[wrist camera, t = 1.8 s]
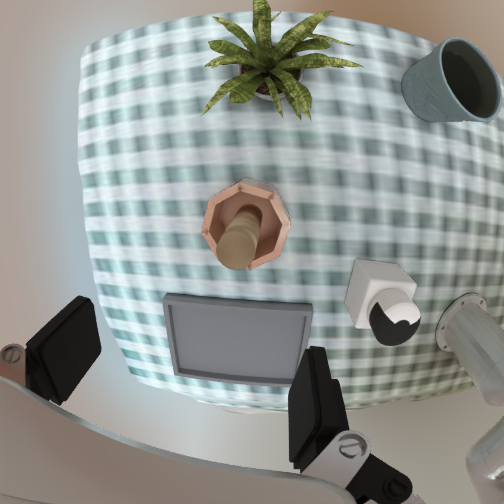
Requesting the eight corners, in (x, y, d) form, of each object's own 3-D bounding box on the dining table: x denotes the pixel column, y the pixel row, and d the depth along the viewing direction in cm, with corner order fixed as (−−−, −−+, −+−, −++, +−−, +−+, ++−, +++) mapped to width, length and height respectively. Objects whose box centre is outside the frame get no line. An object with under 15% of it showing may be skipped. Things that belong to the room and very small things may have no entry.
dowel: (267, 221, 35) (262, 259, 23) (245, 232, 36) (228, 275, 23) (254, 199, 34) (242, 225, 22) (232, 211, 35) (208, 243, 22)
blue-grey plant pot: (408, 129, 30) (458, 124, 19) (385, 62, 27) (425, 33, 16) (459, 122, 28) (511, 120, 17) (438, 60, 25) (484, 40, 14)
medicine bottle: (384, 305, 39) (413, 352, 28) (343, 301, 39) (363, 353, 28) (397, 263, 37) (435, 303, 25) (354, 257, 37) (383, 299, 26)
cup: (297, 228, 36) (301, 245, 30) (237, 258, 38) (230, 279, 32) (264, 167, 34) (262, 170, 27) (204, 201, 36) (188, 211, 29)
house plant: (287, 165, 34) (298, 172, 18) (195, 113, 32) (137, 86, 17) (344, 79, 29) (390, 32, 14) (252, 30, 27) (237, -40, 12)
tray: (311, 303, 40) (313, 311, 38) (297, 378, 45) (298, 387, 43) (167, 292, 41) (162, 299, 39) (177, 367, 47) (174, 375, 45)
